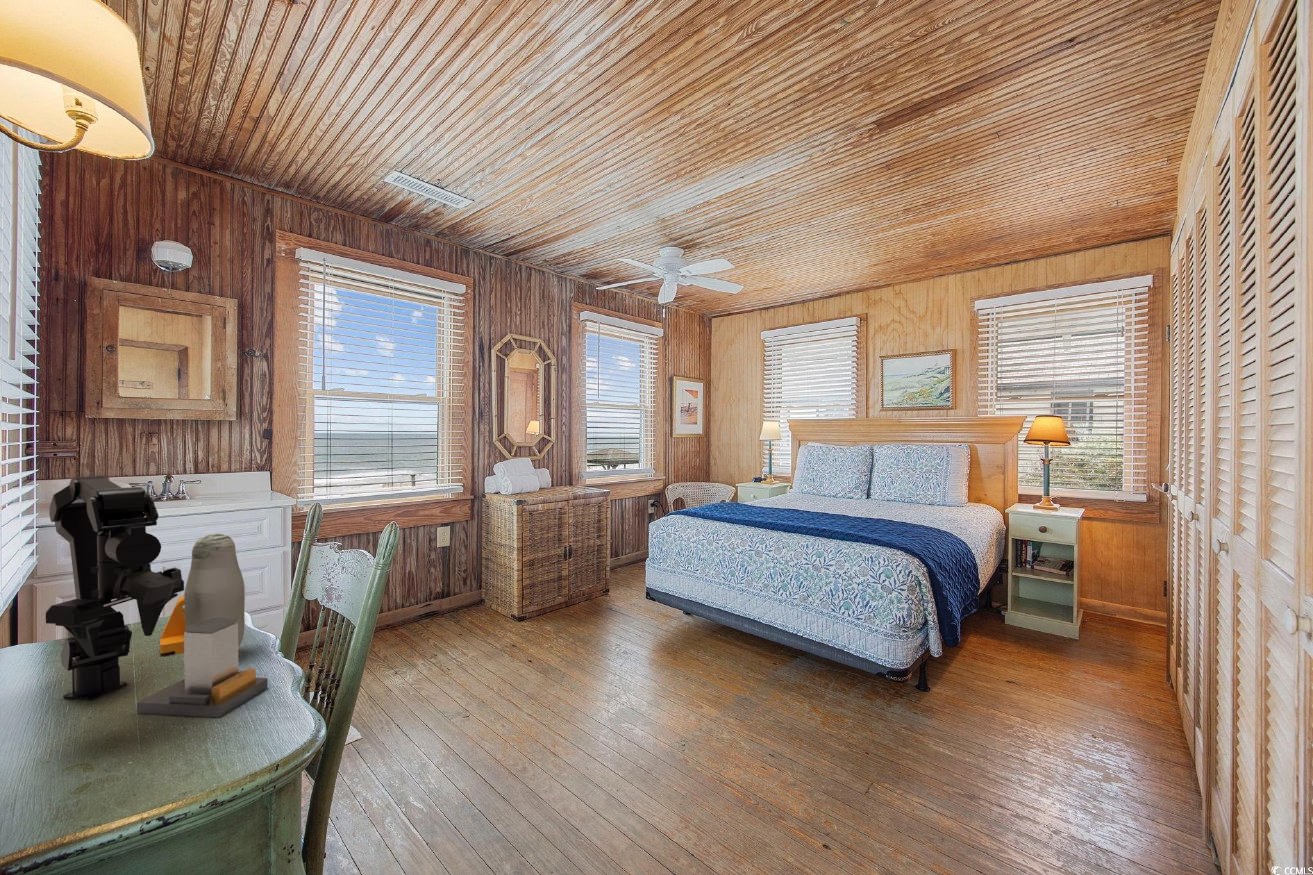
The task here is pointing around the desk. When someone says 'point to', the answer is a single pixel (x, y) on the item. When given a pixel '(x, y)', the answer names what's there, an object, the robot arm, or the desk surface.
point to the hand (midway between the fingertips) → (122, 645)
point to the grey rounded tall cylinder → (215, 583)
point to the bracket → (174, 630)
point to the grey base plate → (204, 697)
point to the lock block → (210, 654)
